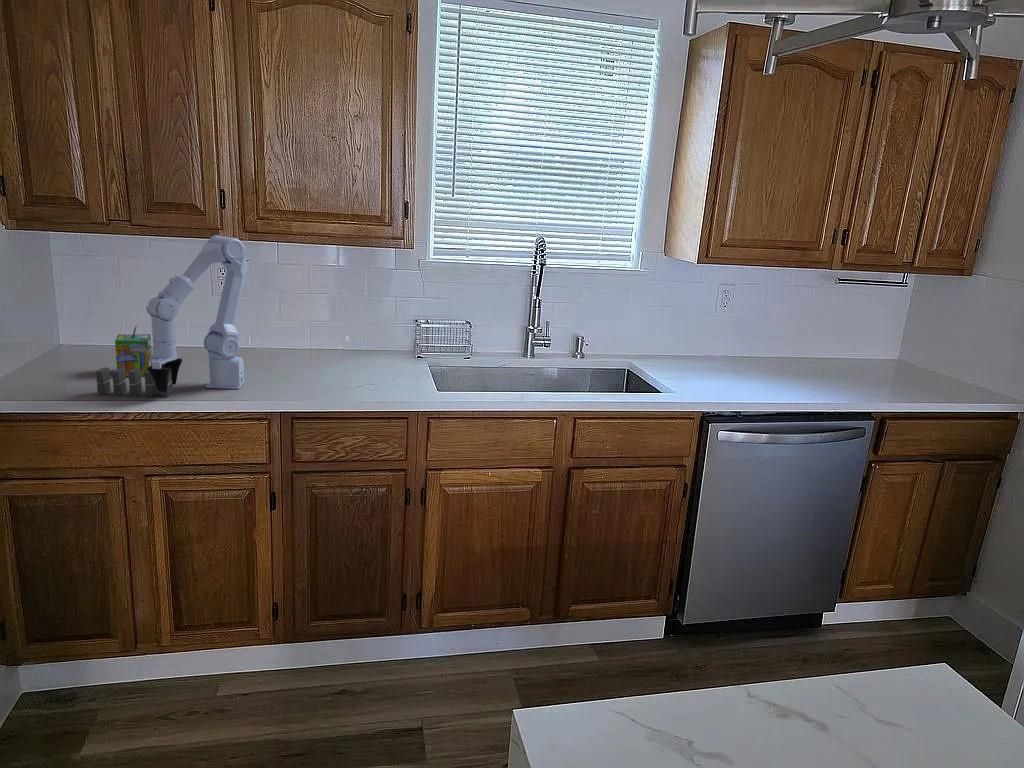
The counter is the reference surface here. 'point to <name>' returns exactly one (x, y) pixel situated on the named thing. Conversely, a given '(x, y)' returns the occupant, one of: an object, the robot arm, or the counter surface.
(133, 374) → the domino
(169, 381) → the domino
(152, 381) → the domino
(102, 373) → the domino
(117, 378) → the domino
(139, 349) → the chalk box
